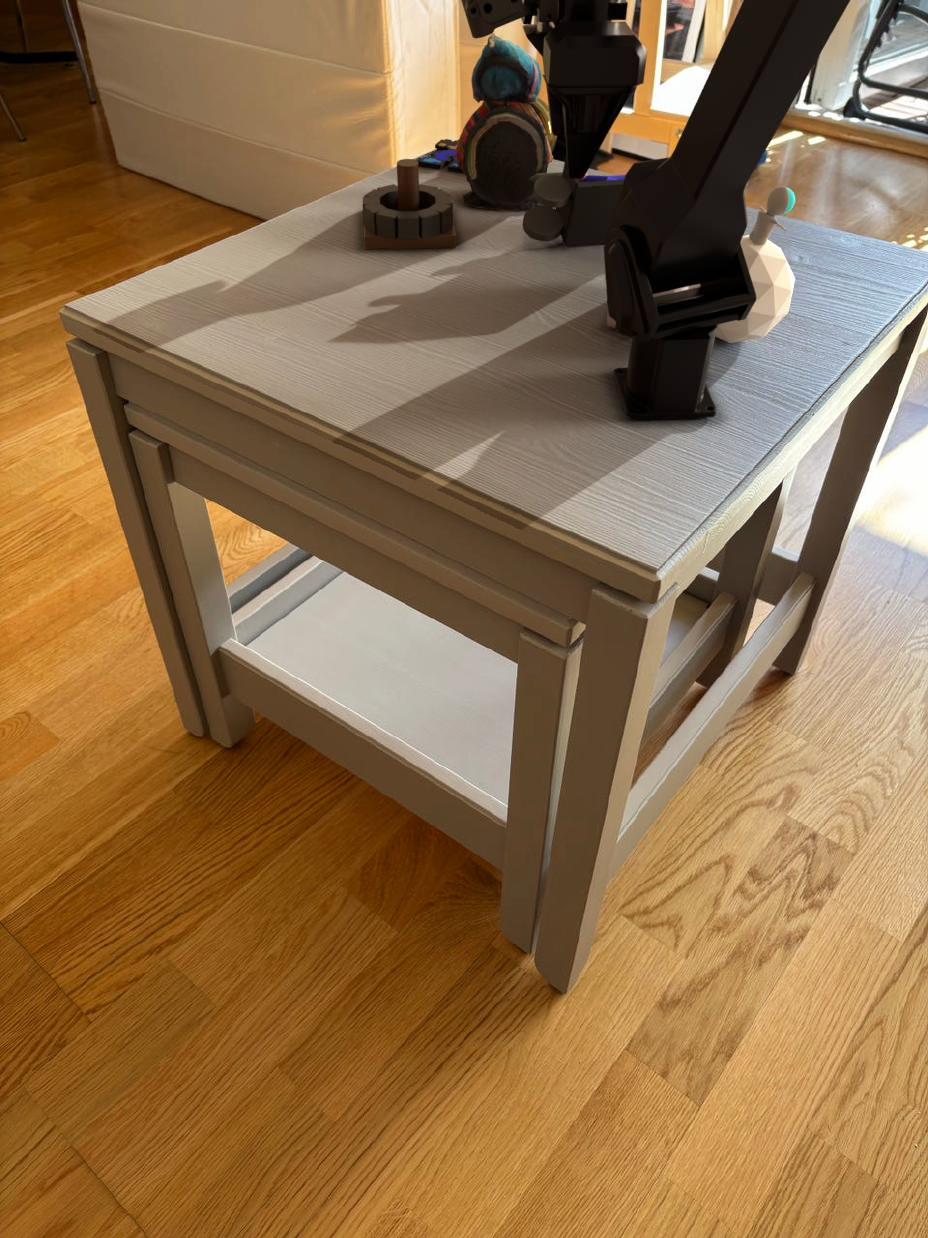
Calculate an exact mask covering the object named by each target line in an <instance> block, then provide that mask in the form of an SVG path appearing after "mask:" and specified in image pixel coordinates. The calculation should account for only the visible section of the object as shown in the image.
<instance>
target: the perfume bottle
mask: <svg viewBox="0 0 928 1238" xmlns="http://www.w3.org/2000/svg"><path fill="white" fill-rule="evenodd" d="M767 196H768V197H767V201H766V209H765V208H764V207H763V206H761V205H759V208H760V210H758V213H757V217H756V220H755V223H754V226H753V228H752V229H751V232H750V234H747V235H743V237H742V240H741V242H740V243H741V247H742V250H743V253H744V256H745V260H746V263H747V266H748V270H749V273H750V276H751V279H752V283H753V286H754V289H755V293H756V301H755V303H754V305H753V307H752V309H751V310H750V312H749V314H748V316H747V317H746V319H745V320H741V321H737V320H735V321H731V322H727V323H723V324H719V325H718V326H717V331H716V335H715V338H718V339H720V340H722V341H724V342H727V343H729V344H734V343H740V342H745V341H750V340H755V339H760V338H764V337H765V336H766V335H767V334H768V333H769V332H770V331H771V330H772V329H773V328H774V327H775V326H776V325H777V324H778V323H779V322H781V321H782V320H783V319H784V318H785V316H786V315H787V314H788V313H789V311H790V306H791V301H792V296H793V291H794V286H795V282H796V277H795V274H794V273H793V271H792V268H791V266H790V265H789V262H788V260H787V258H786V256H785V254H784V252H783V250H782V247H779V246H778V245H776V244H775V243H774V242H772V241H770V240H769V238H770V237H771V234H772V232H773V230H774V229H775V227H777V228H780V229H782V230H783V231H785V232H786V231H787V229H786V228H785V226H783V225H782V224H781V223H780V222H778V220H777V217H779V216H782V215H785V214H787V213H790V211H791V210H792V209H793V207H794V206H795V203H796V196H795V193H794V191H793V190H792V189H791V188H789V187H786V186H784V185H782V186H777V187H775V188H774V189H772V191H771V192H770V193H769V194H768V195H767ZM697 287H700V284H697V285H692V286H689V287H688V289H692V288H697Z"/></svg>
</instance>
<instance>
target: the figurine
mask: <svg viewBox="0 0 928 1238" xmlns="http://www.w3.org/2000/svg"><path fill="white" fill-rule="evenodd" d="M486 41H487V42H486V44H485V45H484V47H483V48H482V50H481V55H480V57H479V58H478V59H477V61H476V64H475V65H474V67H473V70H472V74H471V90H472V98H473V99H474V100H475V102H477V104H480V102H482V103H481V105H479V107H477V109H475V111H474V112H473V113H472V114H471V115H470V117H469V118H468V120H467V121H466V123H465V125H464V126H463V128H462V132H461V134H460V136H459V138H458V140H459V141H458V140H457V141H458V145H457V148H456V154H457V165H458V167H460V168H461V169H462V170H463V172H464V173H463V174H464V175H465V178H466V182H467V183H468V184H469V185H470V189H471V190H470V191H469V192H467V193H465V194H462V198H463V202H464V204H465V205H466V206H467V207H472V208H479V209H485V210H495V211H504V212H505V211H507V212H509V211H510V212H524V211H525V212H526V211H527V210H528V209H530V208H531V207H534V206H539V205H541V204H540V203H533V202H531V201H529V200H527V198H528V197H530V196H531V195H532V194H533V190H534V184H535V183H534V182H533V181H531V180H529V179H530V178H531V177H532V176H534V175H535V174H540V173H548V167H549V164H550V163H552V162H553V160H554V156H553V151H552V152H551V149H550V145H549V141H548V138H547V134H546V132H545V129H544V127H543V124H542V122H541V120H540V118H539V117H538V115H537V114H536V112H535V111H534V110H533V108H532V107H531V106H530V105H528V104H527V103H530V102H536V101H537V99H538V97H539V94H540V93H541V88H542V77H543V74H542V70H541V64H540V63H539V62H538V61H537V60H536V58H535V57H534V56H532V55H531V54H530V53H528V51H526V49H524V48H522V47H521V46H520V45H517V44H515V43H513V42H511V41H510V40H507V39H503V38H502V37H499V36H497V35H496V33H495V32H493V33H492V34H490V35H488V38H487V40H486Z"/></svg>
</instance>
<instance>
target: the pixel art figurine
mask: <svg viewBox="0 0 928 1238" xmlns="http://www.w3.org/2000/svg"><path fill="white" fill-rule="evenodd" d="M458 141H459V139H458V140H452V139H449V138H445V139H440V140H439V141H438V142H436V143H435V144H434V148H435V149H436V150H437V151H436V152H435V151H433V152H432V153H431V154H430V155H429V156H427V157H426V156H423V157H418V158H417V159H415V160H416V161H418V163H419V166H422V167H428V168H432V169H433V168H434V169H438V170H439V169H440V170H441V169H442V168H444V167H445V166H446V165H447V166H446V170H447V171H452V172H457V173H463V174H465V173H464V172H463V170H462V169H461V168H460V167H458V165H457V154H456V148H457V145H458Z"/></svg>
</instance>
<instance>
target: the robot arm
mask: <svg viewBox="0 0 928 1238" xmlns="http://www.w3.org/2000/svg"><path fill="white" fill-rule="evenodd" d="M460 1H461V4H462V7H463V12H464V14H465V17H466V20H467V21H466V22H467V24H468V27H469V30H470V34H471V37H472V38H473V39H482V38H484V37H487V36H490V35H491V34H493V33H495V30H496V29H498V28H501V27H503V26H505V25H508V24H510V23H512V22H515V21H518V20H521V22H522V24H523V25H522V29H523V32H524V34H525V37H526V38H527V40H528V42H530V43H531V45H532V46H533V47H534V48H535V50H536V51H537V52H538V54H539V55H540V56H541V57H542V65H543V74H542V77H543V81H544V82H545V87H546V95H547V104H548V106H549V112H550V120H551V128H552V133H553V135H554V136H557V137H564V140H565V141H564V142H565V152H566V154H565V155H567V165H568V175H569V177H570V178H571V179H582V178H584V176H585V175H586V173H587V174H588V171H589V169H590V168H591V165H592V164H593V162H594V160H595V158H596V156H597V155H598V152H599V150H600V149H601V147H602V145H603V143H604V142H605V139H606V138H607V136H608V135H609V132H610V130H611V129H612V127H613V126H614V124H615V122H616V120H617V119H618V117H619V115H620V113H621V112H622V110H623V108H624V107H625V105H626V103H627V102H628V101H629V98H630V96H631V95H633V94H635V93H636V91H637V89H638V86H640V85H644V82H645V74H646V65H647V58H648V50H647V49H646V47H645V46H644V45H643V43H642V42H641V41H640V39H639V38H638V36H637V35H636V33H635V32H634V31H633V30H632V28H631V27H630V25H628V23H627V21H626V20H627V16H628V7H629V3H628V1H627V0H460ZM850 2H851V0H743V1H742V2H741V5H740V7H739V9H738V11H737V14H736V16H735V18H734V20H733V21H732V24H731V27H730V29H729V31H728V33H727V35H726V37H725V39H724V42H723V44H722V46H721V48H720V51H719V52H718V55H717V56H716V58H715V61H714V63H713V66H712V68H711V70H710V72H709V74H708V76H707V78H706V81H705V83H704V85H703V87H702V89H701V91H700V94H699V95H698V98H697V100H696V102H695V104H694V107H693V108H692V111H691V113H690V115H689V118H688V120H687V121H686V124H685V126H684V128H683V130H682V132H681V134H680V137H679V139H678V141H677V144H676V145H675V148H674V149H673V151H672V152H671V155H670V156H667V157H661V158H657V159H649V160H645V161H644V160H643V161H639V162H634V163H632V165H631V166H630V168H629V169H628V171H627V172H626V174H624V175H625V178H624V182H623V186H622V189H621V192H620V195H619V197H618V199H617V201H616V203H615V204H614V205H613V206H612V207H611V208H610V209H609V214H610V215H612V216H614V217H613V219H612V221H611V223H610V226H609V229H608V232H607V237H606V241H605V245H603V257H604V258H603V259H604V260H603V261H604V273H605V288H606V303H607V315H608V314H609V316H610V317H611V318H612V319H613V320H615V321H616V326H615V328H614V330H615V331H616V332H617V333H618V334H619V335H624V336H629V337H631V342H630V349H629V357H628V362H627V363H628V364H627V367H617V368H614V369H613V372H612V373H613V374H612V377H613V380H614V382H615V386H616V388H617V391H618V395H619V397H620V400H621V403H622V406H623V409H624V412H625V415H626V417H627V418H628V419H630V420H655V419H660V420H661V419H695V418H714V417H716V415H717V412H718V407H717V406H716V403H715V402H714V399H713V397H712V395H711V393H710V391H709V388H708V386H707V384H706V383H707V380H708V379H707V378H708V375H709V374H708V373H709V370H710V369H709V368H710V364H711V358H712V355H713V349H714V345H715V340H716V336H715V335H716V331H717V326H718V325H719V324H723V323H727V322H731V321H735V320H737V321H741V320H745V319H746V317H747V316H748V314H749V312H750V310H751V309H752V307H753V305H754V303H755V301H756V293H755V289H754V286H753V283H752V279H751V276H750V273H749V270H748V266H747V263H746V260H745V256H744V253H743V250H742V247H741V243H740V242H741V240H742V237H743V236H745V235H744V234H745V232H746V230H747V227H748V224H749V223H748V222H749V220H748V219H749V218H748V212H747V211H748V210H747V204H746V203H747V202H746V195H745V189H746V186H747V184H748V182H749V180H750V179H751V177H752V176H753V173H754V171H755V170H756V168H757V167H758V165H759V163H760V161H761V159H762V157H763V156H764V154H765V152H766V150H767V149H768V147H769V145H770V143H771V142H772V140H773V138H774V136H775V135H776V133H777V131H778V130H779V128H780V126H781V124H782V122H783V120H784V118H785V117H786V115H787V113H788V112H789V110H790V109H791V106H792V105H793V103H794V101H795V99H796V97H797V96H798V94H799V93H800V90H801V89H802V87H803V85H804V83H805V82H806V80H807V79H808V76H809V74H810V72H811V71H812V69H813V67H814V66H815V64H816V62H817V61H818V59H819V57H820V55H821V53H822V52H823V49H825V47H826V45H827V42H828V41H829V39H830V37H831V36H832V34H833V32H834V30H835V29H836V27H837V25H838V23H839V21H840V20H841V18H842V16H843V14H844V12H845V11H846V9H847V7H848V5H849V3H850ZM532 22H533V24H532ZM697 284H700V287H697V288H692V289H689V287H690V286H692V285H697ZM688 286H689V287H688ZM683 287H688V289H687V290H683V291H679V292H674V293H670V294H666V295H661V296H657V297H653V294H656V293H661V292H665V291H670V290H674V289H679V288H683Z"/></svg>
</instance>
